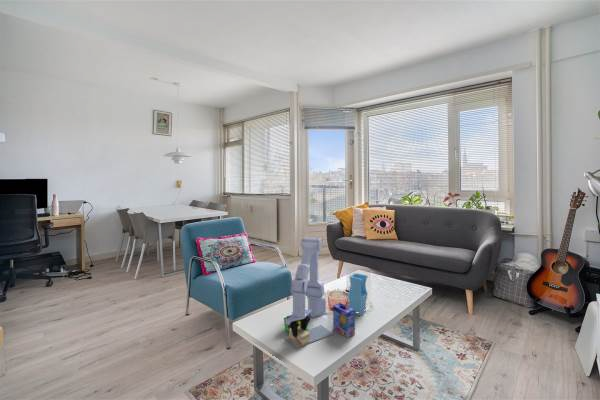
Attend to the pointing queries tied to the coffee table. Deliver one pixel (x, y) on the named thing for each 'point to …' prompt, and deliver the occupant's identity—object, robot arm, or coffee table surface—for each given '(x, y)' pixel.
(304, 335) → the tan rectangular block
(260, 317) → the coffee table surface
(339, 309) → the ink cartridge box
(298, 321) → the fruit basket
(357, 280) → the vase
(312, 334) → the mat
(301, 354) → the coffee table surface
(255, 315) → the coffee table surface
